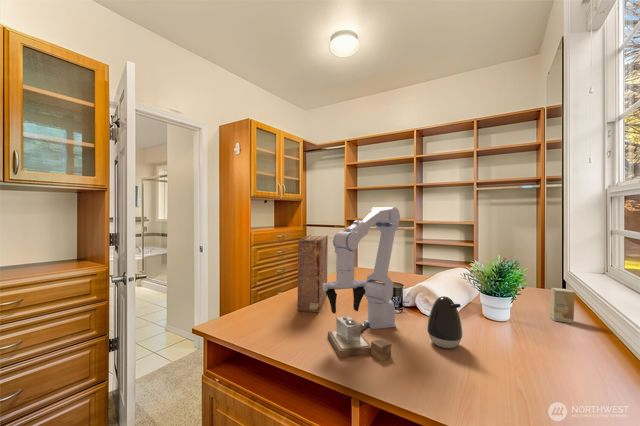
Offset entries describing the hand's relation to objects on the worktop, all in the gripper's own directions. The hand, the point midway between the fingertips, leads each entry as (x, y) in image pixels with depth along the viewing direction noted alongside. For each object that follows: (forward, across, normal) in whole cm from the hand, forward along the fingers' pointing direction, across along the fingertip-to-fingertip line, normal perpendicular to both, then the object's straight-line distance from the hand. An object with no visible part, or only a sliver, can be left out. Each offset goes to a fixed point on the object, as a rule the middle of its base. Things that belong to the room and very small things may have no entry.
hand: (344, 311), depth 87 cm
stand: (+10, 0, +2) cm, 10 cm away
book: (+10, 0, -40) cm, 41 cm away
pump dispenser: (+10, -30, +10) cm, 33 cm away
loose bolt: (+10, -10, -8) cm, 16 cm away
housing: (+8, 0, +2) cm, 8 cm away
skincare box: (+10, -89, +5) cm, 90 cm away
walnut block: (+10, -7, +11) cm, 16 cm away
